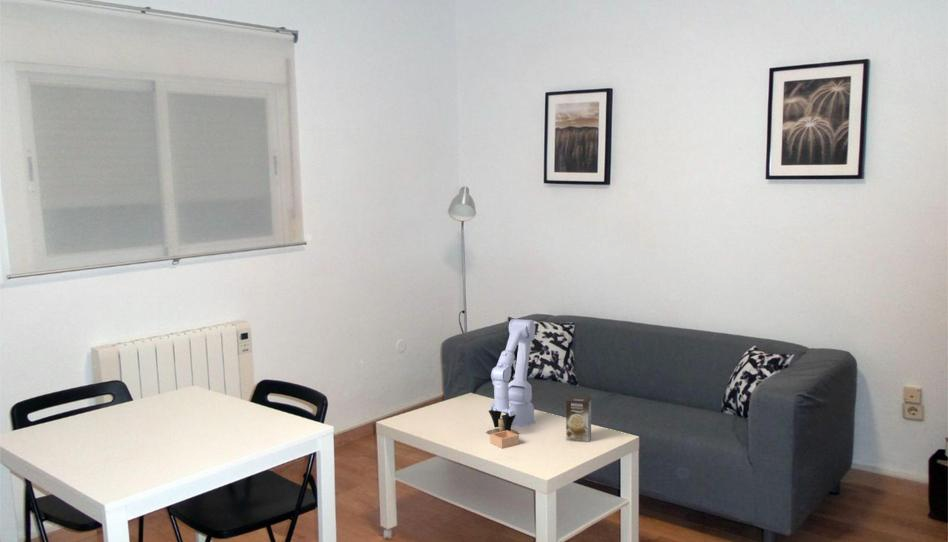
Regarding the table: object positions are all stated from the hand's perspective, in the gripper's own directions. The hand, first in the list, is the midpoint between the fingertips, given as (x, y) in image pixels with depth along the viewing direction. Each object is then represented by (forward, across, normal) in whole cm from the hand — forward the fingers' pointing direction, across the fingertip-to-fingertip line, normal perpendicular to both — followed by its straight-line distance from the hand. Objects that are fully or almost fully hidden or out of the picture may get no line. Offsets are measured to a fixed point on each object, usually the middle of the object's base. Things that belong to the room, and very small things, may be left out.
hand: (502, 429), depth 309 cm
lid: (+2, 0, 0) cm, 2 cm away
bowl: (+2, +11, -6) cm, 13 cm away
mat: (+2, 0, 0) cm, 2 cm away
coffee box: (+2, +23, +20) cm, 31 cm away
